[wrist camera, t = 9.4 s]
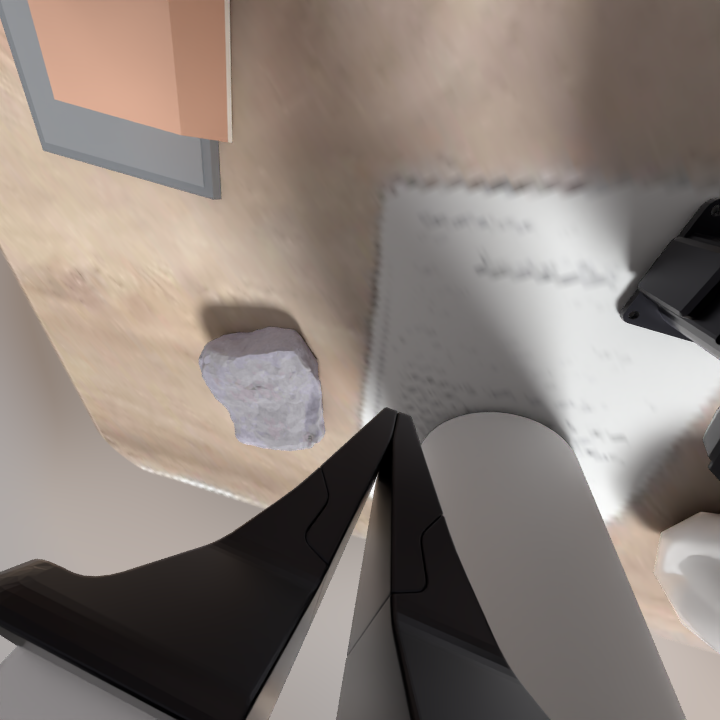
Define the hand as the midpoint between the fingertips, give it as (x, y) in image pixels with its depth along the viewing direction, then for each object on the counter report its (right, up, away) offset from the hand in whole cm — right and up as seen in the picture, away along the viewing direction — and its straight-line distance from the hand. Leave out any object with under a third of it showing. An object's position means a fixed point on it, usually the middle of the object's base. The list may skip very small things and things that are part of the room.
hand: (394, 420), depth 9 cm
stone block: (-8, 0, +19) cm, 21 cm away
